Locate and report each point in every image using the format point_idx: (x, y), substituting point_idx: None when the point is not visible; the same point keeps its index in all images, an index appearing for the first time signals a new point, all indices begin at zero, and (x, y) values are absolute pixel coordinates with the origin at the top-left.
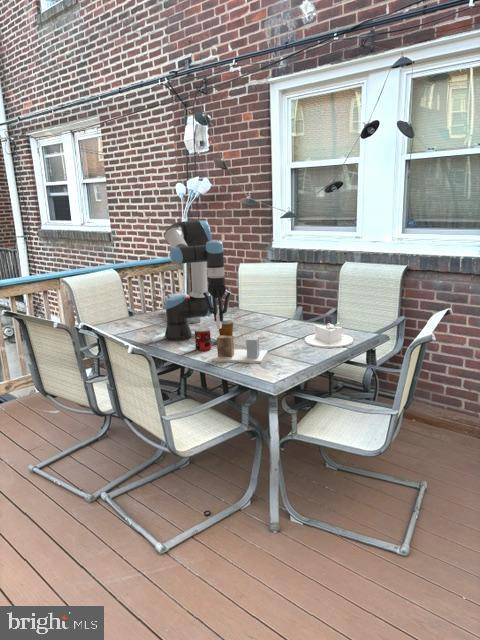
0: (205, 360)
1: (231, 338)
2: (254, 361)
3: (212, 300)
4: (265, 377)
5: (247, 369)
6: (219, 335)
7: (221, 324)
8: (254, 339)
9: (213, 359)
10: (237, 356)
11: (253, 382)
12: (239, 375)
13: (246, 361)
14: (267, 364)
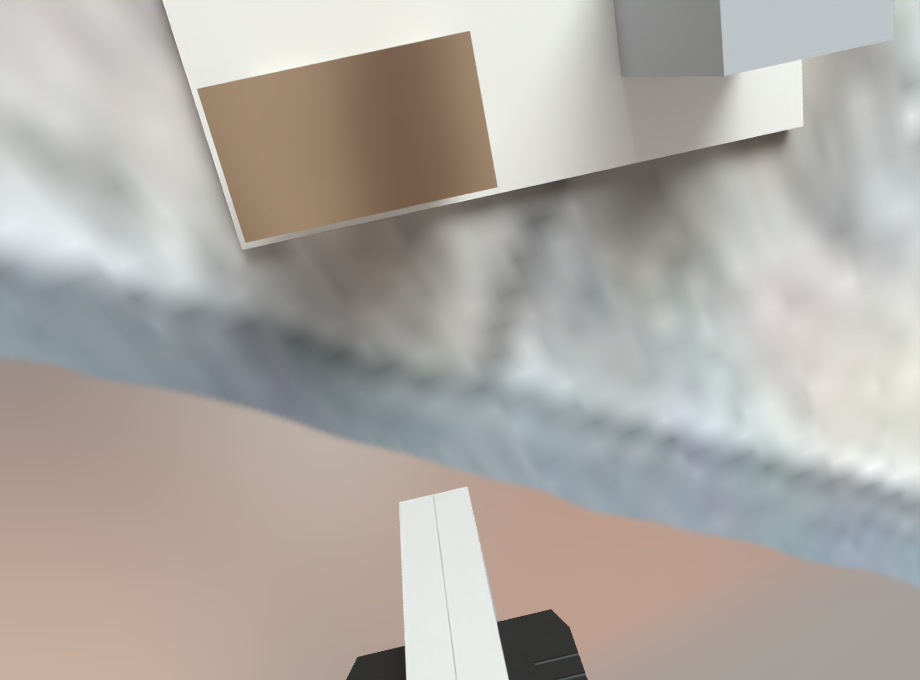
0: (166, 251)
1: (489, 151)
2: (729, 140)
3: None
4: (903, 439)
5: (709, 333)
6: (205, 92)
7: (476, 531)
8: (852, 15)
9: (265, 244)
10: (489, 59)
11: (835, 551)
12: (689, 478)
13: (641, 160)
14: (862, 137)
